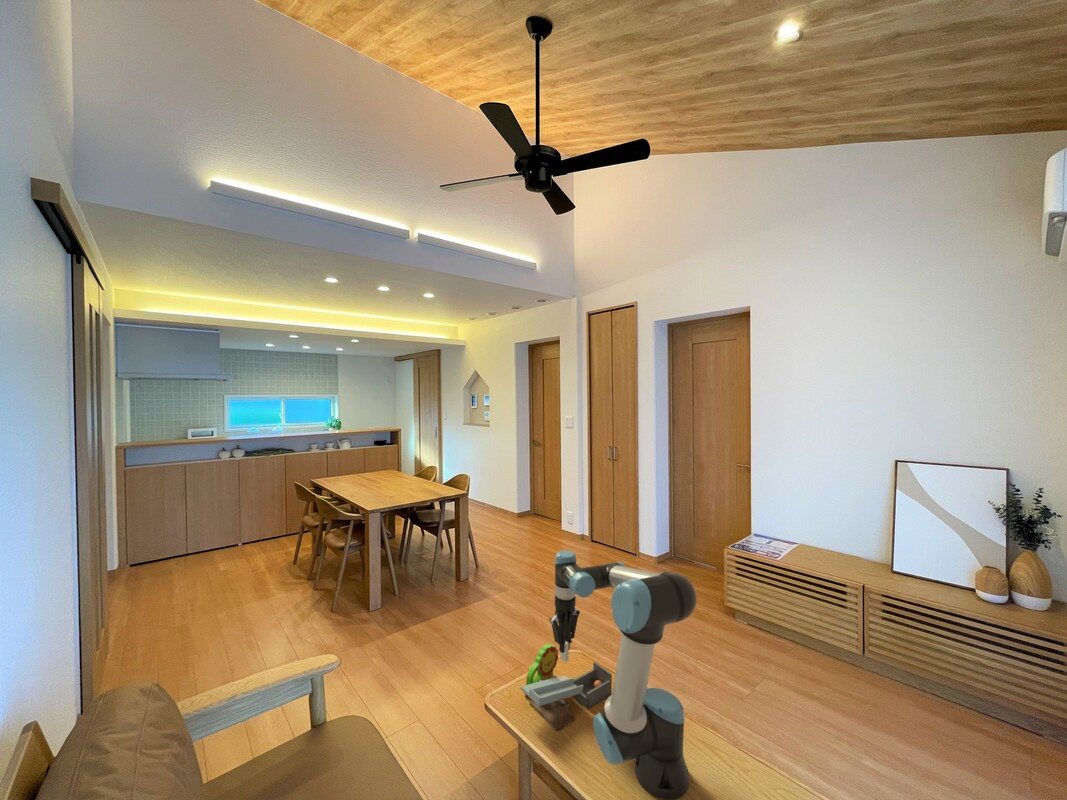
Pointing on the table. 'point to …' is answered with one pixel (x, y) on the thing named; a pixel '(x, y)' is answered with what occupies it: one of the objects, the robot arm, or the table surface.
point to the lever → (552, 690)
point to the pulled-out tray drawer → (590, 693)
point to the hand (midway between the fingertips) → (564, 659)
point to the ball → (597, 683)
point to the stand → (554, 714)
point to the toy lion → (543, 664)
